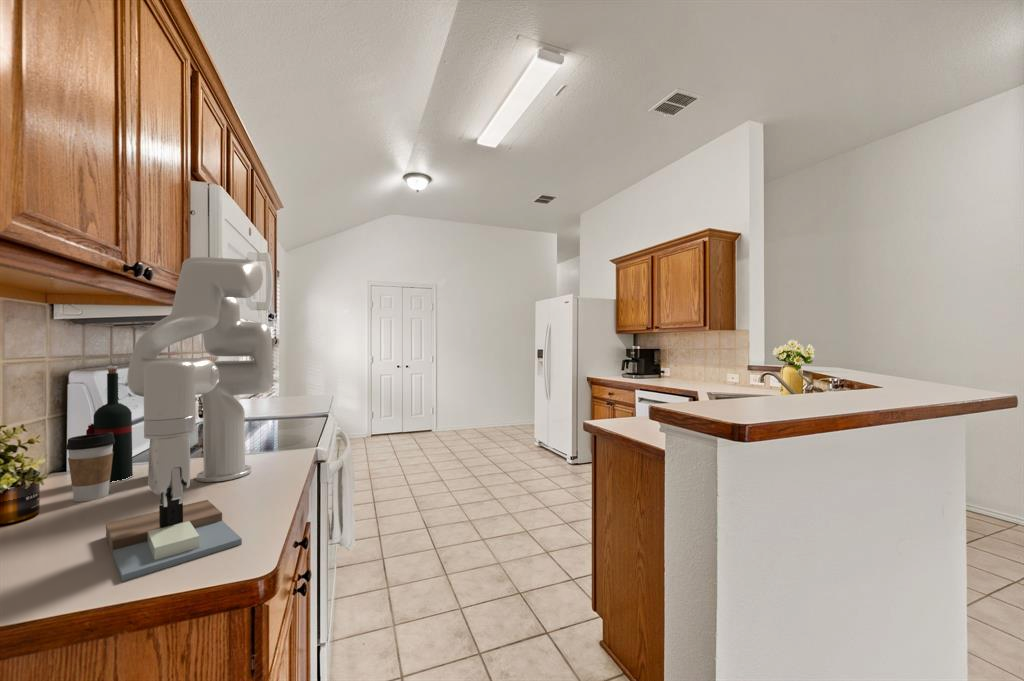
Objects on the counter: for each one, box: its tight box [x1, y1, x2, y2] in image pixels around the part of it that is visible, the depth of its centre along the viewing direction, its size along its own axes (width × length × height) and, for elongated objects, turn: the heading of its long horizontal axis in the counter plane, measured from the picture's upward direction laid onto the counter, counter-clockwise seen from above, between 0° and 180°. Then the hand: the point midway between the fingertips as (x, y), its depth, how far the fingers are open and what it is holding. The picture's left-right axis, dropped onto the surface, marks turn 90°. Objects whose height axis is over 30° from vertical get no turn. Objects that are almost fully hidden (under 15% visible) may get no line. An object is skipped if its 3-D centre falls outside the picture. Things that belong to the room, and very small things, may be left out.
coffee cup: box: [65, 432, 115, 503], centre depth 102 cm, size 8×8×15 cm
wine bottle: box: [85, 368, 134, 482], centre depth 115 cm, size 8×10×30 cm
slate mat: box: [112, 520, 243, 583], centre depth 75 cm, size 12×16×1 cm
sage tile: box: [148, 521, 200, 560], centre depth 75 cm, size 9×6×2 cm, turn 46°
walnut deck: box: [105, 499, 223, 556], centre depth 83 cm, size 11×16×2 cm
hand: (171, 525), depth 79 cm, fingers closed
